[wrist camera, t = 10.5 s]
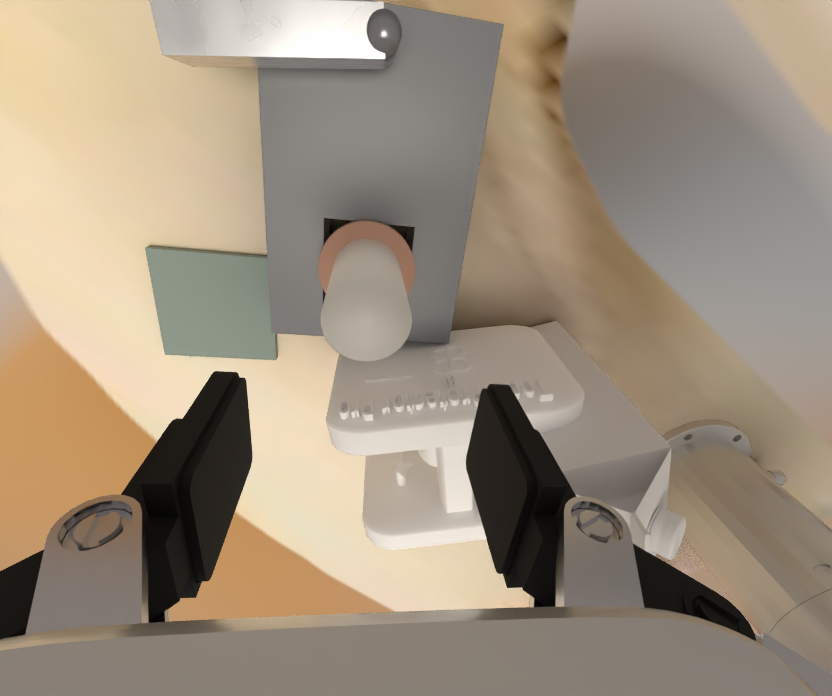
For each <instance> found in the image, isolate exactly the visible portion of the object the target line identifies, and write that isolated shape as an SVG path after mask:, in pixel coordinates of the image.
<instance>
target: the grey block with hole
mask: <svg viewBox="0 0 832 696" xmlns="http://www.w3.org/2000/svg"><path fill="white" fill-rule="evenodd" d="M337 1H370V2H378V1H372V0H337ZM384 9H389V10H391V11H392V12H394V13H395V14H396V15H397V17H398V18H399V20H400V23H401V27H402V37H401V41H400V44H399V47H398V50H397V53H396V56H395V59H394V61H393V63H392V65H391V66H390V67H389V68H387V69H384V70H379V69H320V68H258V79H259V99H260V119H261V139H262V159H263V179H264V199H265V220H266V240H267V260H268V280H269V300H270V320H271V333H280V334H297V335H314V336H324V334H323V332H322V328H321V321H320V317H321V311H322V306H323V303H324V299H325V295H326V293H325V292H324V290H323V288H322V286H321V283H320V280H319V275H318V261H319V257H320V254H321V251H322V248H323V246H324V244H325V242H326V241H327V239H328V238H329V218H330V219H340V220H350V221H357V220H374V221H378V222H381V223H384V224H389V225H399V226H408V231H407V241H406V242H407V244H408V246H409V247H410V250H411V252H412V255H413V258H414V263H415V278H414V283H413V286H412V288H411V290H410V292H409V294H408V296H407V297H408V302H409V306H410V310H411V314H412V326H411V331H410V333H409V336H408V338H407V340H406V341H415V342H432V343H449V339H450V333H451V327H452V322H453V316H454V310H455V304H456V298H457V293H458V287H459V281H460V275H461V269H462V264H463V258H464V252H465V246H466V240H467V235H468V229H469V223H470V217H471V211H472V206H473V200H474V194H475V188H476V182H477V177H478V171H479V165H480V159H481V153H482V148H483V142H484V136H485V130H486V124H487V119H488V113H489V107H490V101H491V95H492V90H493V84H494V78H495V72H496V66H497V61H498V55H499V49H500V43H501V37H502V32H503V26H504V24H499V23H494V22H488V21H483V20H477V19H472V18H466V17H461V16H455V15H450V14H444V13H438V12H433V11H427V10H422V9H416V8H411V7H405V6H400V5H394V4H389V3H384Z"/></svg>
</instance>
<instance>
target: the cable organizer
mask: <svg viewBox="0 0 832 696" xmlns="http://www.w3.org/2000/svg"><path fill="white" fill-rule="evenodd" d="M489 384H505V385H509V386H510V387H511V389H512V390H513V392H514V394H515V396H516V398H517V399H518V401H519V403H520V405H521V406H522V408H523V410H524V412H525V413H526V415H527V417H528V419H529V421H530V422H531V424H532V426H533V428H534V429H536V430H538V431H539V433H542V432H547V431H551V430H554V429H558V428H560V427H563V426H565V425H567V424H569V423H571V422H572V421H574V420H575V419H576V418H578V416H579V415H580V414H581V412H582V410H583V404H584V396H585V394H584V391H583V389H582V387H581V386H580V385H579V384H578V382H577V381H576V380H575V378H574V377H573V376H572V374H571V373H570V372H569V371H568V369H567V368H566V367H565V365H564V364H563V363H562V361H561V360H560V359H559V358H558V356H557V355H556V354H555V352H554V351H553V350H552V348H551V347H550V346H549V345H548V343H547V342H546V341H545V339H544V338H543V337H542V336H541V334H540V333H539V332H538V331H537V330H535V329H532V328H530V327H525V326H518V325H503V326H493V327H484V328H475V329H465V330H456V331H451V333H450V339H449V343H432V342H415V341H405V343H404V344H403V345H402V346H401V348H400V349H398V350H397V351H396V352H395V353H393V354H392V355H390V356H388V357H386V358H383V359H380V360H376V361H357V360H353V359H350V358H347V357H345V356H343V355H341V354H340V353H339V357H338V362H337V367H336V372H335V377H334V382H333V387H332V392H331V397H330V402H329V407H328V412H327V417H326V421H327V426H328V430H329V434H330V438H331V442H332V444H333V446H334V447H335V448H336V449H338V450H339V451H341V452H344V453H347V454H351V455H360V456H366V463H365V482H364V500H363V523H364V527H365V532H366V535H367V537H368V539H369V540H370V541H371V542H372V543H373V544H375V545H376V546H378V547H381V548H384V549H390V550H400V549H409V548H417V547H425V546H434V545H442V544H450V543H459V542H467V541H475V540H484V539H487V538H486V535H485V532H484V528H483V525H482V521H481V518H480V514H479V511H478V508H477V504H476V501H475V497H474V494H473V491H472V487H471V484H470V480H469V477H468V473H467V470H466V456H467V451H468V447H469V442H470V438H471V434H472V429H473V425H474V420H475V416H476V411H477V407H478V403H479V398H480V394H481V391H482V389H483V388H487V387H488V385H489Z"/></svg>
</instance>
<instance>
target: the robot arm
mask: <svg viewBox="0 0 832 696" xmlns="http://www.w3.org/2000/svg"><path fill="white" fill-rule="evenodd" d="M662 436H663V438H664V439H665V440H666V441H667V442H668V443H669V445H670V446H671V463H670V474H669V486H668V497H667V509H669V510H670V511H672V512H676V513H678V514H680V515H683V516H684V517H685V518H686V528H685V533H684V536H683V538H684V539H685V540H686V541H687V543H688V544H689V545H690V547H691V548H692V549H693V550H694V552H695V553H696V554H697V556H698V557H699V558H700V559H701V561H702V562H703V563H704V564H705V566H706V567H707V568H708V570H709V571H710V572H711V573H712V575H713V576H714V577H715V578H716V580H717V581H718V582H719V583H720V585H721V586H722V587H723V589H724V590H725V591H726V593H727V594H728V595H729V596H730V598H731V599H732V600H733V601H734V603H735V604H736V605H737V607H738V608H739V609H740V610H741V611H742V613H743V614H744V615H745V617H746V618H747V619H748V621H749V622H750V623H751V624H752V626H753V627H754V628H755V629H756V631H757V632H758V633H759V635H760V637H759V636H757V635H755V634H754V632H753V630H752V628H751V626H750V624H749V622H748V621H747V620H746V619H745V617H744V616H743V615H742V613H741V612H740V611H739V610H738V609H737V608H736V607H735V606H733V605H732V604H731V603H730V602H729V601H728V600H727V599H725V598H724V597H722V596H721V595H719V594H718V593H716V592H715V591H713V590H711V589H710V588H708V587H706V586H705V585H703V584H701V583H699V582H698V581H696V580H694V579H693V578H691V577H689V576H688V575H686V574H684V573H682V572H681V571H679V570H677V569H676V568H674V567H672V566H671V565H669V564H667V563H666V562H664V561H662V560H660V559H659V558H657V557H655V556H654V555H652V554H650V553H649V552H647V551H645V550H643V549H642V548H640V547H638V546H637V545H635V544H633V542H632V537H631V532H630V529H629V526H628V524H627V522H626V521H625V520H624V518H623V517H622V515H620V514H619V513H618V512H617V511H616V510H615V509H614V508H612V507H611V506H609V505H608V504H606V503H605V502H602V501H600V500H598V499H595V498H591V497H586V496H578V497H577V496H576V495H575V493H574V491H573V489H572V488H571V486H570V484H569V482H568V481H567V479H566V477H565V476H564V474H563V472H562V470H561V469H560V467H559V465H558V463H557V462H556V460H555V458H554V456H553V455H552V453H551V451H550V449H549V448H548V446H547V444H546V443H545V441H544V439H543V437H542V436H541V434H540V433H539V431H538V430H536V429H534V428H533V426H532V424H531V422H530V421H529V419H528V417H527V415H526V413H525V412H524V410H523V408H522V406H521V405H520V403H519V401H518V399H517V398H516V396H515V394H514V392H513V390H512V389H511V387H510V386H509V385H505V384H489V385H488V387H487V388H483V389H482V391H481V394H480V398H479V403H478V407H477V411H476V416H475V420H474V425H473V429H472V434H471V438H470V442H469V447H468V451H467V456H466V470H467V473H468V477H469V480H470V484H471V487H472V491H473V494H474V497H475V501H476V504H477V508H478V511H479V514H480V518H481V521H482V525H483V528H484V532H485V535H486V538H487V542H488V545H489V549H490V552H491V555H492V559H493V562H494V566H495V569H496V571H497V573H499V574H503V576H504V579H505V582H506V586H507V588H516V587H523V590H524V591H525V592H527V593H528V594H529V595H530V598H529V607H526V608H496V609H466V610H436V611H410V612H383V613H358V614H334V615H308V616H284V617H261V618H239V619H217V620H195V621H175V622H174V621H173V622H169V617H168V609H169V608H170V607H172V606H173V605H174V604H176V603H177V602H179V600H180V598H196V596H197V593H198V591H199V588H200V585H201V582H202V581H209V580H210V578H211V576H212V574H213V571H214V568H215V565H216V562H217V560H218V557H219V554H220V551H221V548H222V546H223V543H224V540H225V537H226V535H227V532H228V529H229V526H230V523H231V520H232V518H233V515H234V512H235V509H236V506H237V504H238V501H239V498H240V495H241V492H242V490H243V487H244V484H245V481H246V478H247V476H248V473H249V470H250V467H251V463H252V444H251V433H250V421H249V409H248V398H247V386H246V380H245V378H239V375H238V373H237V372H218V371H215V372H213V374H212V375H211V377H210V378H209V380H208V381H207V383H206V384H205V386H204V387H203V389H202V390H201V392H200V393H199V395H198V396H197V398H196V399H195V401H194V402H193V404H192V406H191V407H190V409H189V410H188V412H187V413H186V415H185V416H184V418H183V419H175V420H173V421H172V422H171V423H170V424H169V426H168V427H167V429H166V430H165V431H164V433H163V434H162V436H161V437H160V439H159V440H158V442H157V443H156V444H155V446H154V447H153V449H152V450H151V452H150V453H149V455H148V456H147V458H146V459H145V460H144V462H143V464H142V465H141V466H140V468H139V469H138V471H137V472H136V473H135V475H134V476H133V478H132V479H131V481H130V482H129V484H128V485H127V487H126V488H125V489H124V491H123V492H122V494H121V495H108V496H102V497H98V498H95V499H92V500H89V501H86V502H84V503H82V504H80V505H78V506H77V507H75V508H73V509H71V510H70V511H69V512H67V513H66V514H65V515H64V516H62V517H61V518H60V519H59V520H58V521H57V522H56V523H55V524H54V526H53V527H52V528H51V530H50V532H49V534H48V536H47V539H46V544H45V548H44V550H42V551H40V552H38V553H36V554H34V555H32V556H30V557H28V558H26V559H24V560H22V561H20V562H18V563H16V564H14V565H12V566H10V567H8V568H6V569H4V570H2V571H0V696H832V530H831V529H830V528H829V527H828V526H827V525H826V524H824V523H823V522H822V521H821V520H820V519H819V518H817V517H816V516H815V515H814V514H813V513H812V512H810V511H809V510H808V509H807V508H806V507H804V506H803V505H802V504H801V503H800V502H799V501H797V500H796V499H795V498H794V497H793V496H792V495H790V494H789V493H788V492H787V491H786V490H785V489H783V488H782V487H781V486H780V485H783V484H784V483H785V482H786V476H785V475H784V473H783V472H781V471H765V470H764V469H763V468H762V467H761V466H760V465H758V464H757V463H756V462H755V461H754V460H752V459H751V455H752V447H751V444H750V441H749V439H748V438H747V436H746V435H745V434H744V433H743V432H742V431H741V430H739V429H738V428H737V427H736V426H734V425H732V424H730V423H728V422H724V421H719V420H704V421H696V422H692V423H689V424H685V425H683V426H680V427H678V428H675V429H673V430H671V431H669V432H668V433H666V434H664V435H662Z"/></svg>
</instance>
